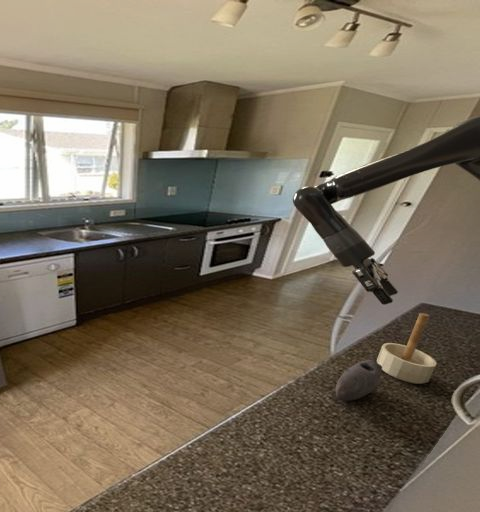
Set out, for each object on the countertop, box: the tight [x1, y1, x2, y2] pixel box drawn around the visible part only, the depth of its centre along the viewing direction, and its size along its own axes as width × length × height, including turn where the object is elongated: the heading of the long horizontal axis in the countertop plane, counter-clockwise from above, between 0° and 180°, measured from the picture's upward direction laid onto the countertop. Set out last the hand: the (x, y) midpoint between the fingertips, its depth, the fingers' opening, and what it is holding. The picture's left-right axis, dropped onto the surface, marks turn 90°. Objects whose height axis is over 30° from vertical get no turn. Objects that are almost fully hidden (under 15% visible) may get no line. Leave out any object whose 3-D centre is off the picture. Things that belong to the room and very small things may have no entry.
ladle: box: [401, 312, 430, 362], centre depth 72 cm, size 4×2×16 cm, turn 125°
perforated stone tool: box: [335, 359, 383, 402], centre depth 67 cm, size 15×5×7 cm, turn 114°
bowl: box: [376, 342, 438, 385], centre depth 74 cm, size 10×10×6 cm
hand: (391, 298), depth 74 cm, fingers open, 8 cm apart
